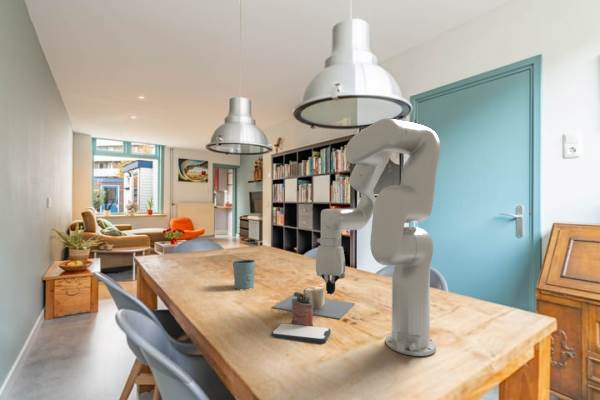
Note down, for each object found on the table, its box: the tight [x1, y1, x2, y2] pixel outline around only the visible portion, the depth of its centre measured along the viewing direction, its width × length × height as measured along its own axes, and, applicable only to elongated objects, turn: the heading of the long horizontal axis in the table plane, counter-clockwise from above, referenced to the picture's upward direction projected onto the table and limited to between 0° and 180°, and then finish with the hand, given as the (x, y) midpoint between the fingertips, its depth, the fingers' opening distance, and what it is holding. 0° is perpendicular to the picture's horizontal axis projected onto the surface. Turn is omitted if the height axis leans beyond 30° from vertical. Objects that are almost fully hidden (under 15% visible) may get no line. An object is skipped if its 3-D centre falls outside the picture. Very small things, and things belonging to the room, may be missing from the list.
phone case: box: [270, 323, 332, 345], centre depth 90 cm, size 9×2×16 cm
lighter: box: [291, 291, 314, 326], centre depth 96 cm, size 8×3×10 cm, turn 47°
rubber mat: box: [271, 294, 356, 320], centre depth 115 cm, size 18×26×1 cm
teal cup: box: [232, 259, 256, 290], centre depth 141 cm, size 10×10×12 cm
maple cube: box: [303, 285, 326, 308], centre depth 116 cm, size 6×6×6 cm
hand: (330, 293), depth 113 cm, fingers closed
